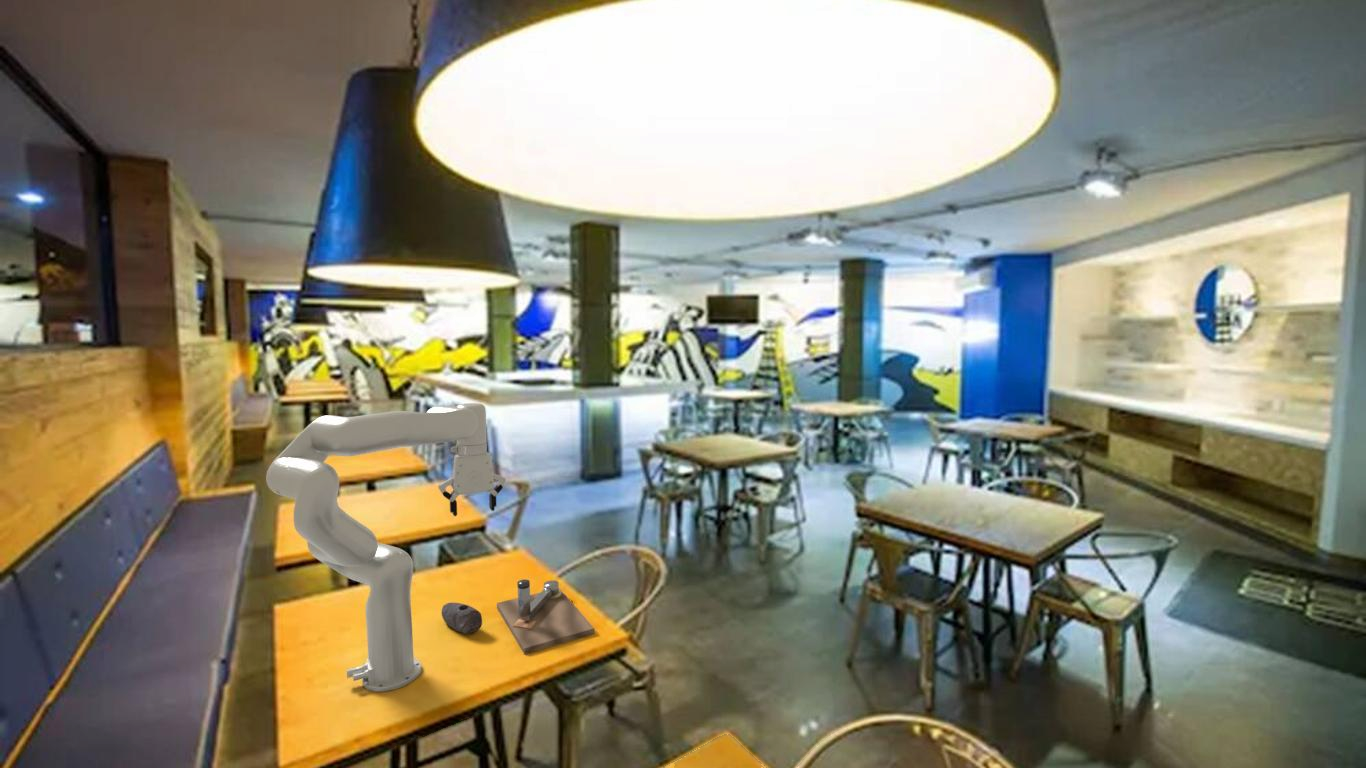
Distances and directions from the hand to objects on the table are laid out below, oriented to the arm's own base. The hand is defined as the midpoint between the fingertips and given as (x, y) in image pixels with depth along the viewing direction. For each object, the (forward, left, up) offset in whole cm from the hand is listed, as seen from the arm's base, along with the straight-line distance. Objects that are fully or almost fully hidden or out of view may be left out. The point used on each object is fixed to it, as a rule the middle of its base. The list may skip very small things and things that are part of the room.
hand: (473, 512), depth 160 cm
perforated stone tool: (-4, +2, -33) cm, 33 cm away
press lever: (+17, -2, -30) cm, 35 cm away
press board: (+17, -6, -33) cm, 37 cm away
